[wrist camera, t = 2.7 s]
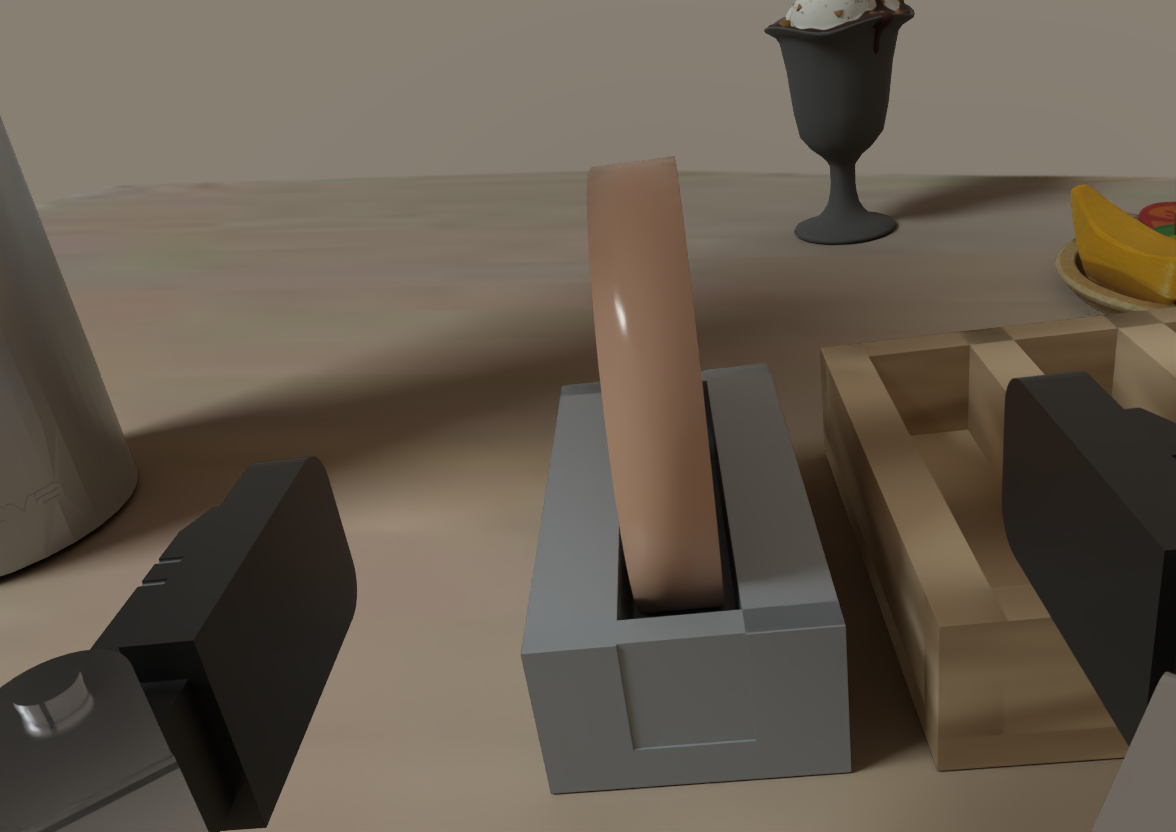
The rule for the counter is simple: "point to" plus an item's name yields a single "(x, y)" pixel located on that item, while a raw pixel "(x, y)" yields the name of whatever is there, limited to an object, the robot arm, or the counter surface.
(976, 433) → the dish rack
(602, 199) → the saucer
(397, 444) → the counter surface
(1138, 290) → the toy sandwich meal
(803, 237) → the sundae
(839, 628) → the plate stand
